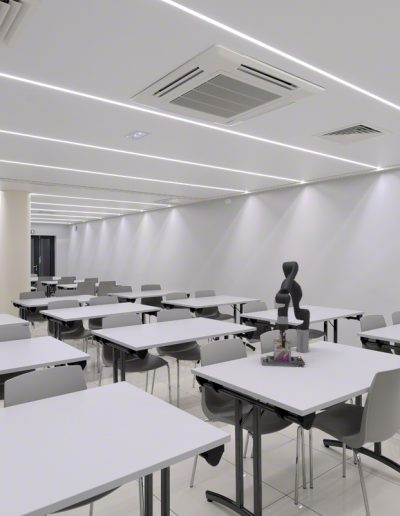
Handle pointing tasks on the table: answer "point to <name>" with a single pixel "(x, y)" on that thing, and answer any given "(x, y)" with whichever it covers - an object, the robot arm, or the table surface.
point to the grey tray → (293, 363)
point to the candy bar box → (282, 350)
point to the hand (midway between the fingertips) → (282, 346)
